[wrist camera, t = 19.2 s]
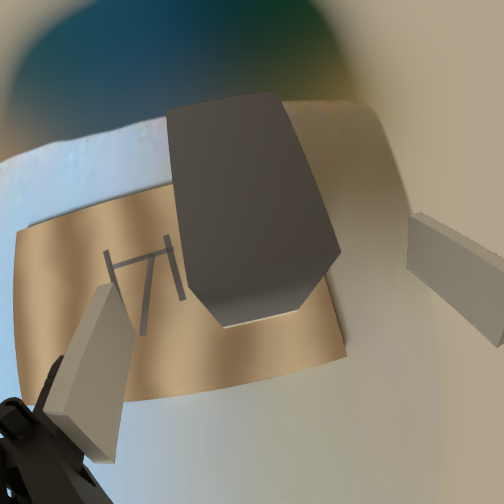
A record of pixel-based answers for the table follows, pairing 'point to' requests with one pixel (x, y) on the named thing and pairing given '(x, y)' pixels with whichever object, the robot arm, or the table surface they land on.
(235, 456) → the table surface
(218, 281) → the block
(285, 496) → the table surface
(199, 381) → the board
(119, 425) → the robot arm
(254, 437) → the table surface
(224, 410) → the table surface
